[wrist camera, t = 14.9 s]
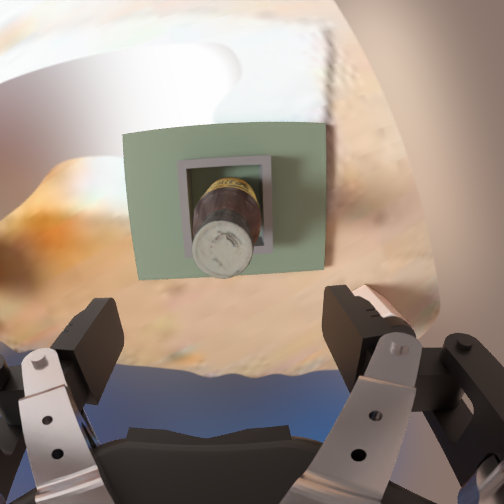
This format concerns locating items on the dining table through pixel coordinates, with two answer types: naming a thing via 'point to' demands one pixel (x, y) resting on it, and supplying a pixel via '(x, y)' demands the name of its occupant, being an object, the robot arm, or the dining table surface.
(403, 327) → the jar
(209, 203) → the sauce bottle
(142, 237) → the deck plate
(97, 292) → the dining table surface
